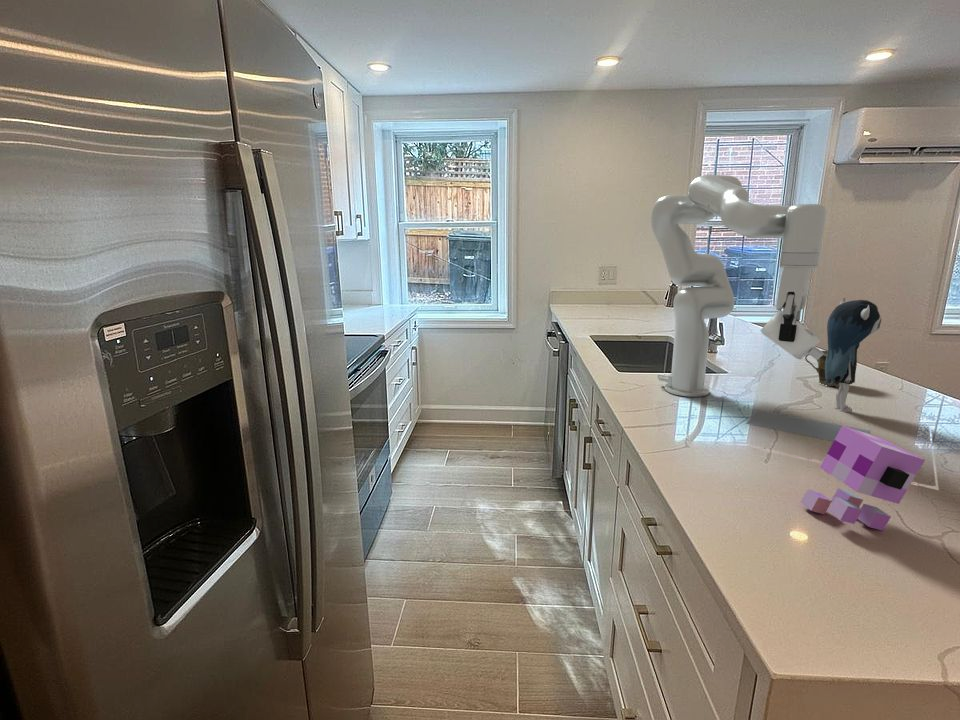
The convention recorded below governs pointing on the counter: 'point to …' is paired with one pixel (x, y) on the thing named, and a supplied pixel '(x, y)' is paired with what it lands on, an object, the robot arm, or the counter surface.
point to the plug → (803, 338)
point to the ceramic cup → (822, 369)
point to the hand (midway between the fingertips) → (788, 338)
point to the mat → (797, 425)
